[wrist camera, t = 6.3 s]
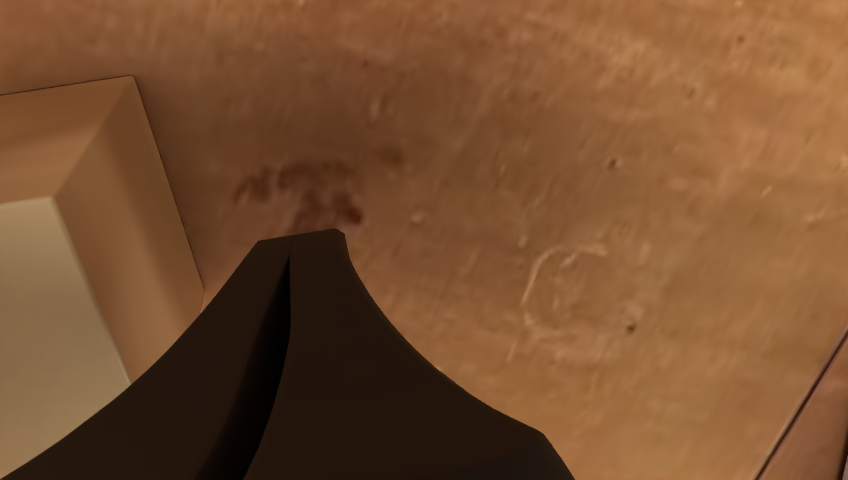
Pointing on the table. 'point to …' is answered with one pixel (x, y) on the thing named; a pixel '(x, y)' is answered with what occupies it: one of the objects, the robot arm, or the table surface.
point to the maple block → (83, 259)
